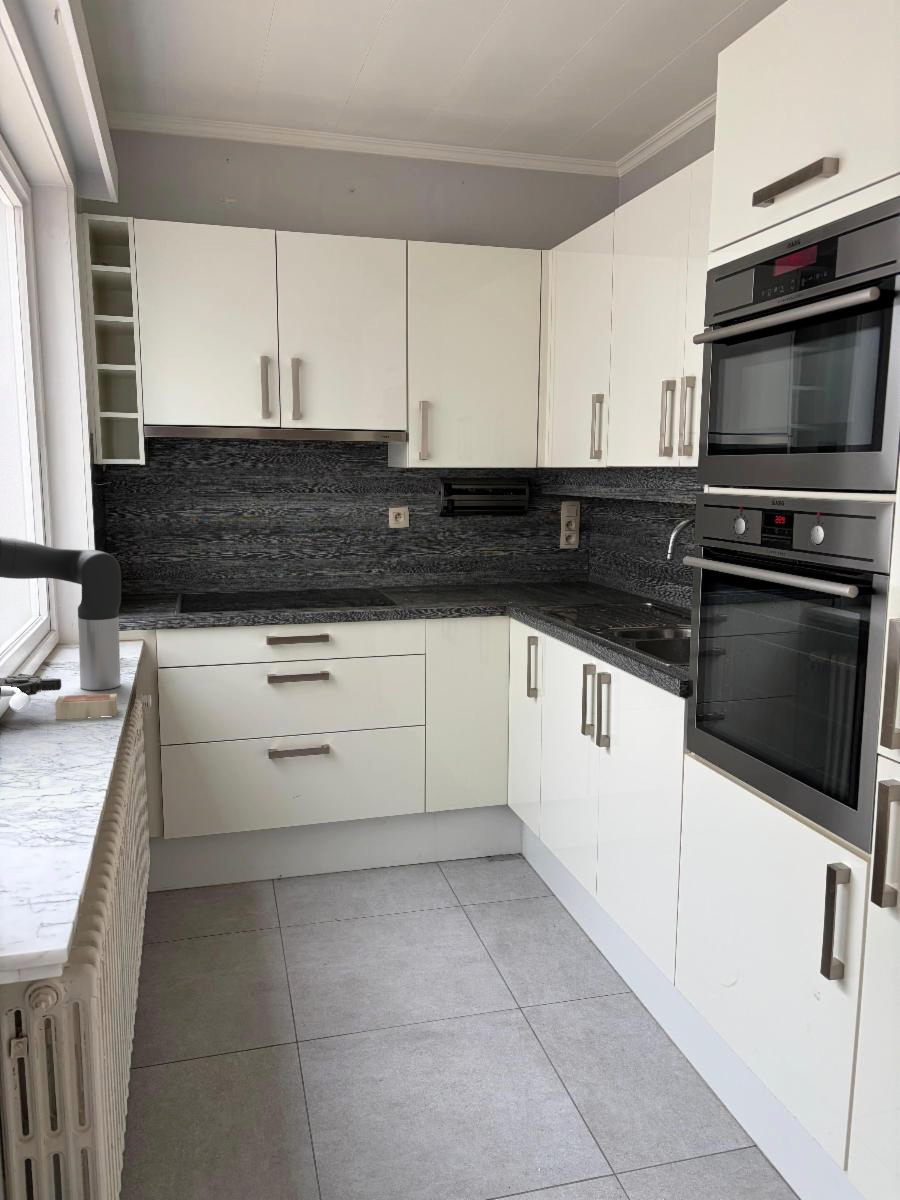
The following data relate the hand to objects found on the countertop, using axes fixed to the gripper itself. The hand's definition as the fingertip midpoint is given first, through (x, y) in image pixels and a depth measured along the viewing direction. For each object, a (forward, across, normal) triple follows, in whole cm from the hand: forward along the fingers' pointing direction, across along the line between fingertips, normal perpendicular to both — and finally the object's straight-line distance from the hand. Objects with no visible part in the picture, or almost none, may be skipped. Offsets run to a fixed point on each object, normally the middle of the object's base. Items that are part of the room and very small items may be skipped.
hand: (60, 684), depth 198 cm
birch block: (-1, 0, +5) cm, 5 cm away
